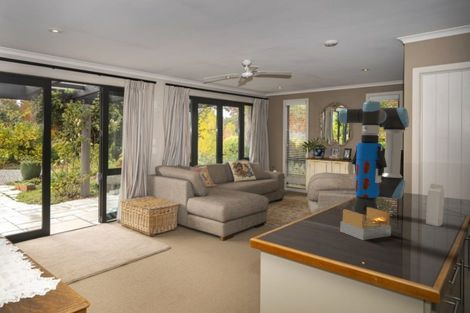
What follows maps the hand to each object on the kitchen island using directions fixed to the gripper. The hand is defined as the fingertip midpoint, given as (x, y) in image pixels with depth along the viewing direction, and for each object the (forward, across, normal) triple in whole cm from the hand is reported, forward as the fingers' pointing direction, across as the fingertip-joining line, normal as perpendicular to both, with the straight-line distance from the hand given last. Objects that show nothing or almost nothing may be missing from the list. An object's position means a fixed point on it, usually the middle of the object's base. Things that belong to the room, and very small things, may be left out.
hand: (367, 180), depth 149 cm
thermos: (+7, 0, 0) cm, 7 cm away
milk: (+26, +1, +51) cm, 57 cm away
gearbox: (+25, 0, 0) cm, 25 cm away
